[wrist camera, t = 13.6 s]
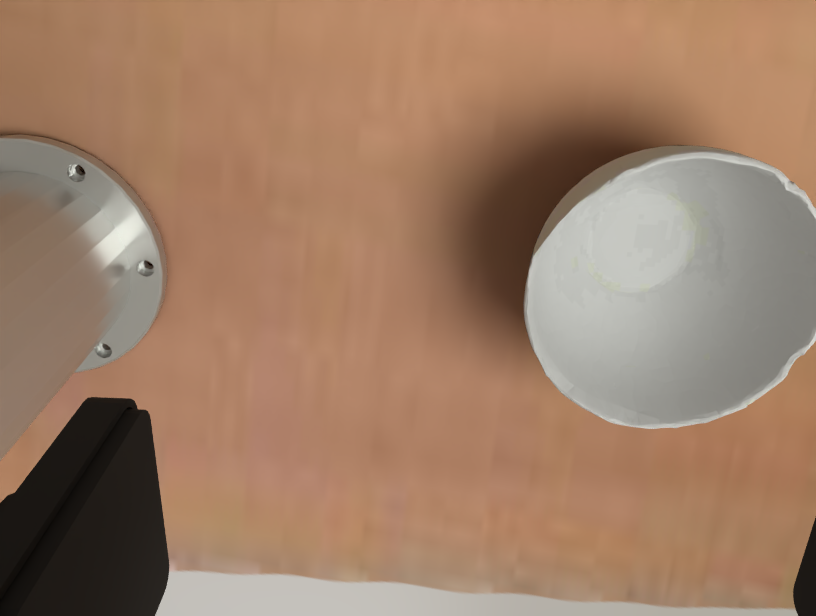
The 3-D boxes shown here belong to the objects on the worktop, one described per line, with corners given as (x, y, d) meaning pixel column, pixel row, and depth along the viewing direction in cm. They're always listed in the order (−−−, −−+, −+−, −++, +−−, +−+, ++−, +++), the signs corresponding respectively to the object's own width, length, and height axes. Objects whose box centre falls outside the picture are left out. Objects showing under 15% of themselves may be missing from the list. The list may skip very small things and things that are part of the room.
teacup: (493, 340, 41) (507, 424, 34) (522, 103, 36) (547, 141, 29) (772, 359, 41) (846, 446, 34) (842, 125, 36) (947, 169, 29)
